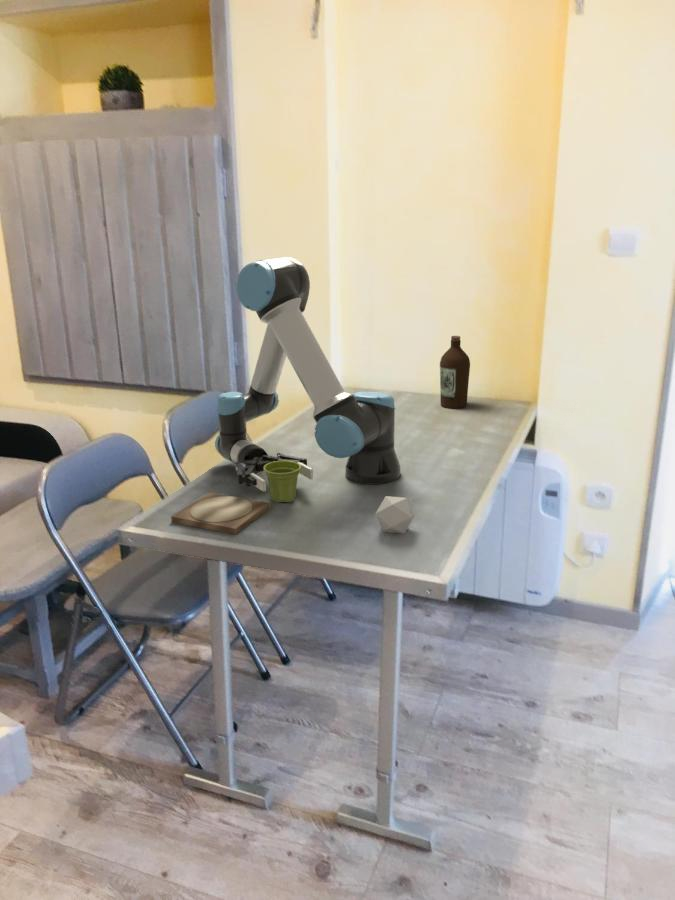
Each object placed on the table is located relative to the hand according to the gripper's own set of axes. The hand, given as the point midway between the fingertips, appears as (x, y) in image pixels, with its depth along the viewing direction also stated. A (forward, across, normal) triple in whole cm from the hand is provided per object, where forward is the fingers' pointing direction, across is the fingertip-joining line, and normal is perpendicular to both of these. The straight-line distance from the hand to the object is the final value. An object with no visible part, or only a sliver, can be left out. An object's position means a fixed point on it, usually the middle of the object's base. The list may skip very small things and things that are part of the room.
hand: (288, 480), depth 188 cm
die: (+29, -12, -6) cm, 31 cm away
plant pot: (-3, 0, -6) cm, 7 cm away
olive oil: (-42, -92, -6) cm, 102 cm away
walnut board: (-3, +18, -6) cm, 19 cm away
